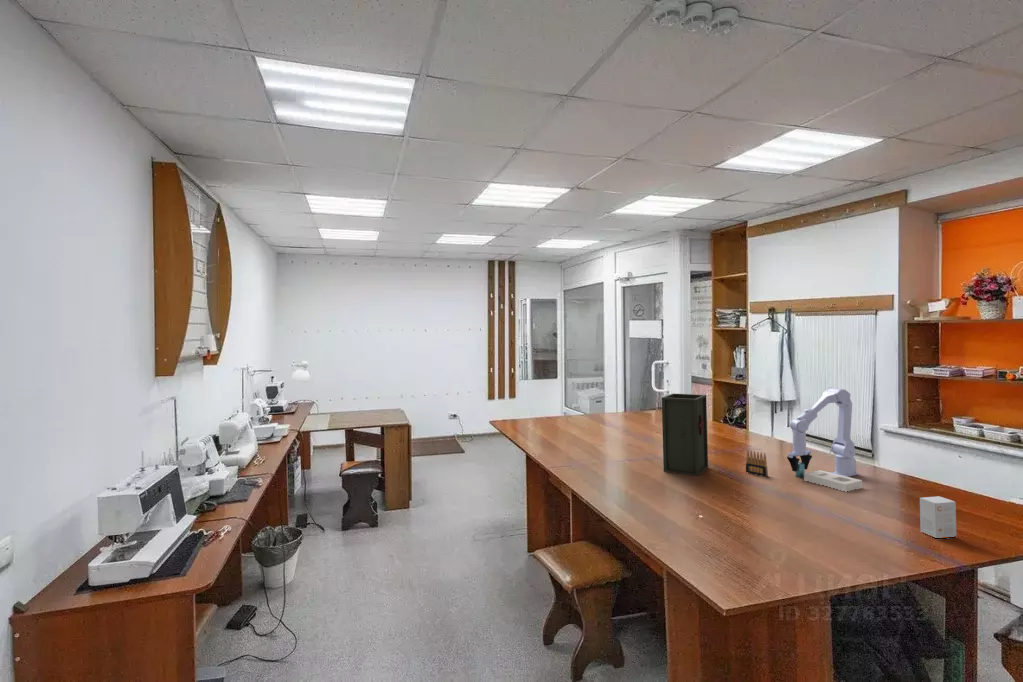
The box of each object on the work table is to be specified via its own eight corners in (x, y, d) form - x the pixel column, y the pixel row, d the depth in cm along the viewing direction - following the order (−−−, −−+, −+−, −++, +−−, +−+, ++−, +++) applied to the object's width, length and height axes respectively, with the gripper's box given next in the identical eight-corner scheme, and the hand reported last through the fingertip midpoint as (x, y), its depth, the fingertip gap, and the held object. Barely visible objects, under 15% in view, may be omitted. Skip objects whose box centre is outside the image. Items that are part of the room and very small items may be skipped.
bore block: (820, 477, 250) (819, 470, 250) (862, 487, 231) (861, 480, 231) (804, 480, 245) (804, 473, 245) (845, 492, 227) (845, 484, 226)
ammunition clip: (767, 476, 254) (767, 452, 254) (766, 476, 253) (765, 453, 253) (747, 471, 263) (746, 449, 262) (745, 472, 262) (745, 449, 261)
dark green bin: (674, 463, 284) (672, 393, 283) (708, 467, 273) (706, 395, 272) (663, 471, 269) (661, 397, 268) (698, 476, 258) (696, 399, 257)
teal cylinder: (799, 475, 254) (798, 461, 253) (806, 477, 250) (806, 463, 250) (793, 476, 252) (793, 462, 252) (801, 478, 248) (800, 464, 248)
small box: (939, 531, 182) (939, 495, 182) (957, 538, 176) (956, 501, 176) (919, 532, 181) (919, 497, 181) (936, 539, 175) (935, 503, 175)
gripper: (797, 446, 244) (797, 474, 244) (816, 443, 250) (816, 469, 250) (784, 443, 250) (784, 470, 251) (803, 440, 256) (803, 466, 257)
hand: (799, 470), depth 251 cm, fingers open, 7 cm apart
